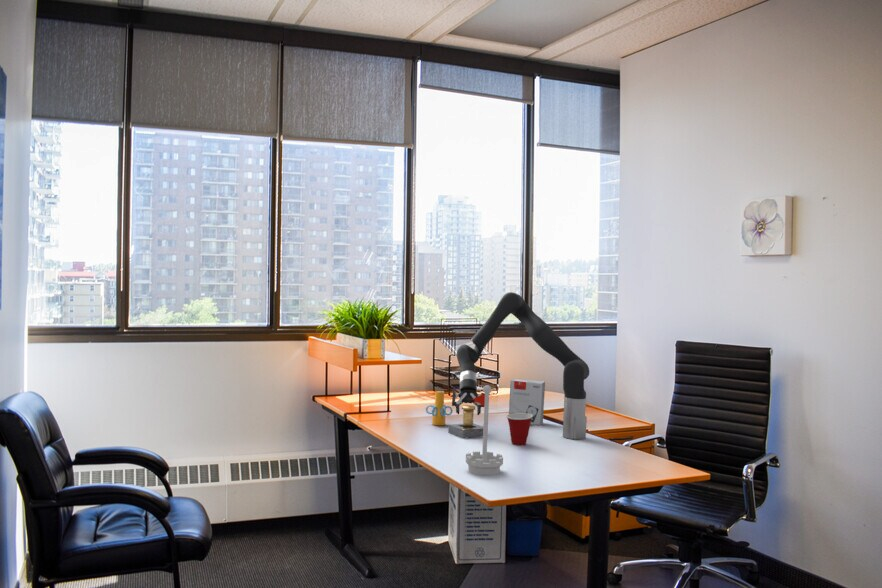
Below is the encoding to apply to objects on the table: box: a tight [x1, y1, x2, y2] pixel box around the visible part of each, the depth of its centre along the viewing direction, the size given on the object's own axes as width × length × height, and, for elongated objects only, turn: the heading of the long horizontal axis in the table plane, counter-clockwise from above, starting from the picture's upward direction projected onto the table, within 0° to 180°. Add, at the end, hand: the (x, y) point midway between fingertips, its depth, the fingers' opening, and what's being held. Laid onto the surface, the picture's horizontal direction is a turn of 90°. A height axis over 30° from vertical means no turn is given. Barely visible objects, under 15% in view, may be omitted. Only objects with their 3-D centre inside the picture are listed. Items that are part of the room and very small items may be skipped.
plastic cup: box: [505, 413, 533, 446], centre depth 301 cm, size 11×11×12 cm
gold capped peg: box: [461, 404, 476, 428], centre depth 316 cm, size 6×6×12 cm
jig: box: [447, 422, 484, 439], centre depth 316 cm, size 12×12×4 cm
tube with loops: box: [425, 390, 453, 426], centre depth 335 cm, size 12×10×15 cm
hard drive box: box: [508, 378, 546, 426], centre depth 348 cm, size 16×8×20 cm, turn 71°
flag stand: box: [465, 384, 504, 476], centre depth 256 cm, size 13×13×30 cm
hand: (468, 413), depth 316 cm, fingers open, 8 cm apart
